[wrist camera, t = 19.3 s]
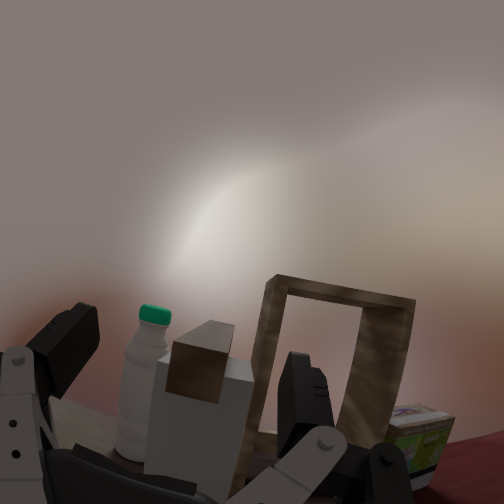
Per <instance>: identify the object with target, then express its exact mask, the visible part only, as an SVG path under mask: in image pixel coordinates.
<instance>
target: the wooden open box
mask: <svg viewBox="0 0 504 504" xmlns="http://www.w3.org/2000/svg"><path fill="white" fill-rule="evenodd" d="M287 294H288V295H294V296H299V297H304V298H310V299H315V300H321V301H327V302H333V303H339V304H344V305H350V306H356V307H362V308H363V310H362V316H361V321H360V327H359V332H358V337H357V342H356V347H355V352H354V357H353V362H352V366H351V370H350V375H349V379H348V383H347V387H346V391H345V395H344V399H343V402H342V406H341V410H340V414H339V418H338V421H337V424H336V428H335V429H337V430H339V431H340V432H341V433H342V434H343V435H344V436H345V438H346V441H347V442H348V443H350V444H353V445H357V446H360V447H364V448H367V449H371V448H372V447H373V446H374V445H376V444H378V443H381V442H383V441H384V438H385V435H386V432H387V429H388V425H389V422H390V419H391V416H392V412H393V409H394V405H395V401H396V398H397V394H398V390H399V386H400V382H401V378H402V374H403V370H404V366H405V361H406V356H407V352H408V347H409V341H410V335H411V330H412V324H413V318H414V312H415V305H416V300H414V299H408V298H403V297H397V296H391V295H386V294H380V293H375V292H370V291H364V290H358V289H353V288H347V287H342V286H337V285H332V284H326V283H321V282H316V281H311V280H305V279H300V278H295V277H290V276H285V275H280V274H276V275H275V276H274V277H273V278H271V279H270V280H269V281H268V282H266V286H265V292H264V297H263V302H262V307H261V312H260V317H259V322H258V327H257V333H256V338H255V342H254V347H253V352H252V357H251V367H252V373H253V378H254V386H253V390H252V395H251V399H250V404H249V409H248V413H247V418H246V422H245V426H244V431H243V435H242V440H241V444H240V448H239V453H238V457H237V461H236V465H235V469H234V474H233V478H232V482H231V486H230V490H229V494H228V498H227V501H228V500H229V499H230V498H231V497H233V496H234V495H235V494H237V493H238V492H239V491H240V490H242V489H243V488H244V484H245V481H246V477H247V473H248V469H249V465H250V461H251V457H252V453H253V452H261V453H269V454H277V431H271V430H263V429H259V424H260V420H261V416H262V412H263V408H264V403H265V399H266V394H267V390H268V385H269V381H270V376H271V371H272V367H273V362H274V358H275V353H276V348H277V343H278V338H279V333H280V328H281V323H282V318H283V313H284V308H285V302H286V298H287ZM334 498H335V500H336V496H334Z"/></svg>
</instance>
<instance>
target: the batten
mask: <svg viewBox="0 0 504 504" xmlns="http://www.w3.org/2000/svg"><path fill="white" fill-rule="evenodd" d="M234 327H235V325H232V324H227V323H223V322H218V321H213V320H209V321H208V322H206V323H204V324H203V325H201V326H199V327H197V328H196V329H193V330H192V331H190V332H188V333H186V334H185V335H183V336H181V337H179V338H177V339H176V340H174V341H173V345H172V351H171V357H170V362H169V368H168V374H167V381H166V387H165V392H168V393H172V394H176V395H180V396H184V397H188V398H192V399H197V400H201V401H206V402H210V403H215V404H218V403H219V398H220V394H221V389H222V384H223V380H224V375H225V371H226V366H227V361H228V357H229V352H230V347H231V342H232V337H233V332H234Z"/></svg>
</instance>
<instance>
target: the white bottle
mask: <svg viewBox="0 0 504 504" xmlns="http://www.w3.org/2000/svg"><path fill="white" fill-rule="evenodd" d="M170 321H171V312H170V311H169V310H168V309H165V308H162V307H158V306H153V305H147V304H144V305H142V306H141V308H140V312H139V322H140V328H139V330H138V331H137V332H136V333H135V334H134V336H133V339H131V340H130V342H129V343H128V345H127V346H126V349H125V362H124V366H123V371H122V378H121V385H120V395H119V413H118V417H117V433H116V439H115V448H116V450H117V452H118V453H119V454H120V455H121V456H123V457H124V458H126V459H128V460H131V461H135V462H144V461H145V450H146V441H147V432H148V423H149V415H150V408H151V400H152V393H153V386H154V379H155V373H156V367H157V361H158V360H159V359H161V358H162V357H164V356H165V355H167V354H168V353H170V349H169V347H168V341H167V338H166V336H165V331H166V329H167V328H168V325H169V324H170Z"/></svg>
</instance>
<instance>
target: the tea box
mask: <svg viewBox="0 0 504 504" xmlns="http://www.w3.org/2000/svg"><path fill="white" fill-rule="evenodd" d="M454 420H455V417H454V416H451V415H449V414H446V413H443V412H440V411H437V410H434V409H431V408H429V407H426V406H423V405H420V404H417V405H407V406H397V407H394V409H393V412H392V416H391V419H390V422H389V425H388V429H387V432H386V435H385V438H384V441H383V442H388V443H391V444H394V445H396V446H397V447H399V448H400V449H401V451H402V452H403V454H404V456H405V460H406V464H407V468H408V473H409V477H410V482H411V486H412V491H414V490H417V489H420V488H423V487H425V486H427V485H428V484H429V482H430V480H431V478H432V476H433V473H434V471H435V469H436V466H437V464H438V462H439V460H440V458H441V455H442V452H443V450H444V448H445V445H446V443H447V440H448V437H449V435H450V432H451V429H452V427H453V424H454Z"/></svg>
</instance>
